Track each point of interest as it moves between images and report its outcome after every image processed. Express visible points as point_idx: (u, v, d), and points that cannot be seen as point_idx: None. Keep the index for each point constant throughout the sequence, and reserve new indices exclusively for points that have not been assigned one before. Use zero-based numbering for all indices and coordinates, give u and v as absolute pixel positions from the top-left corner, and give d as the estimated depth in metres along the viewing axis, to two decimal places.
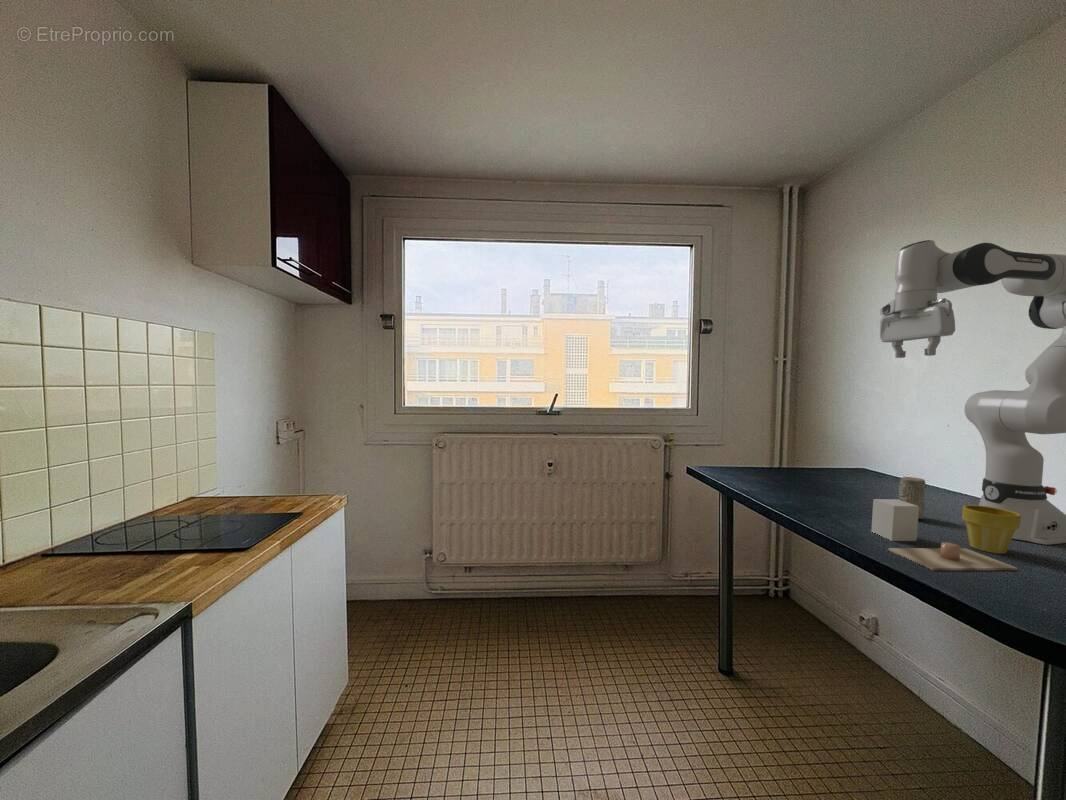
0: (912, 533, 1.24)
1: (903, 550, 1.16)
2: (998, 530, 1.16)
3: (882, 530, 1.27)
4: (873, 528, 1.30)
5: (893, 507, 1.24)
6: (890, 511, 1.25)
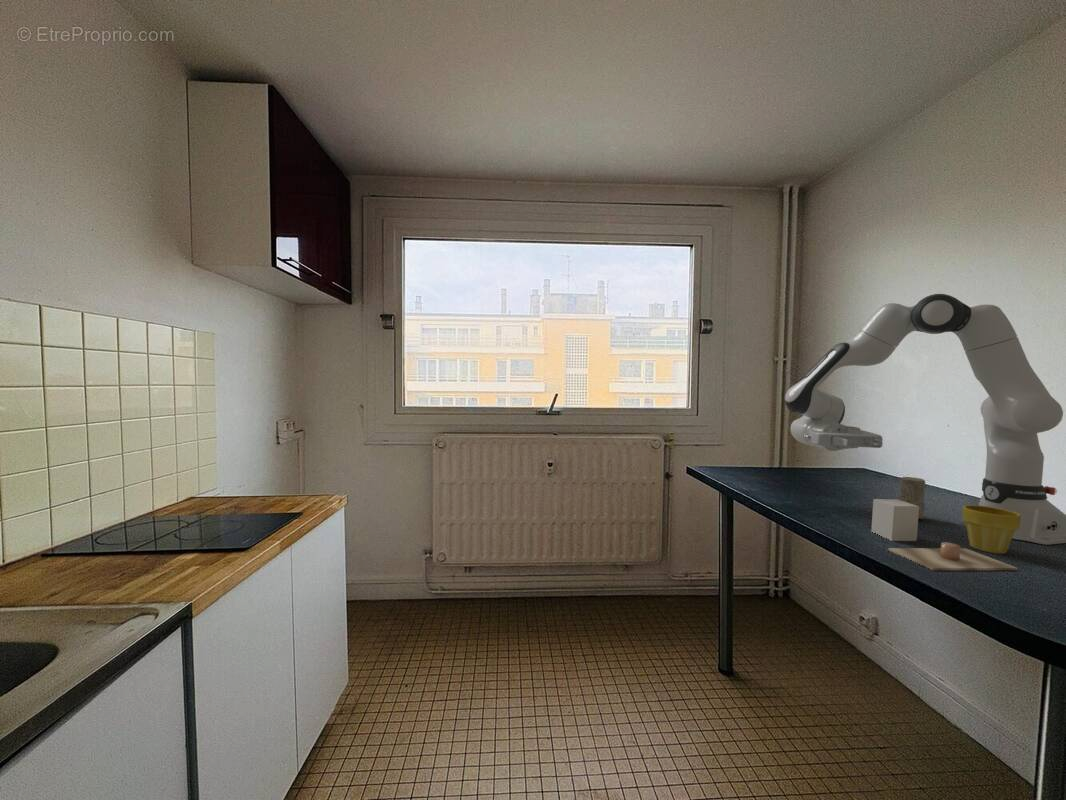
0: (912, 533, 1.24)
1: (903, 550, 1.16)
2: (998, 530, 1.16)
3: (882, 530, 1.27)
4: (873, 528, 1.30)
5: (893, 507, 1.24)
6: (890, 511, 1.25)
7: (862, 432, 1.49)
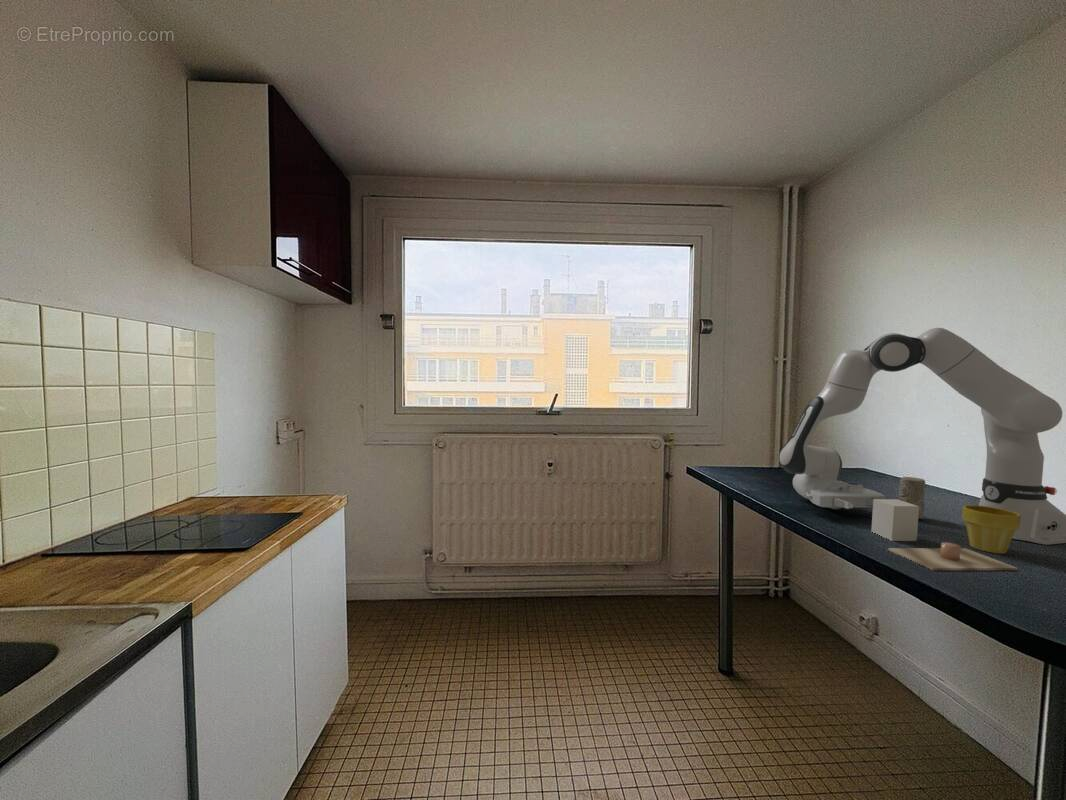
0: (912, 533, 1.24)
1: (903, 550, 1.16)
2: (998, 530, 1.16)
3: (882, 530, 1.27)
4: (873, 528, 1.30)
5: (893, 507, 1.24)
6: (890, 511, 1.25)
7: (864, 490, 1.48)
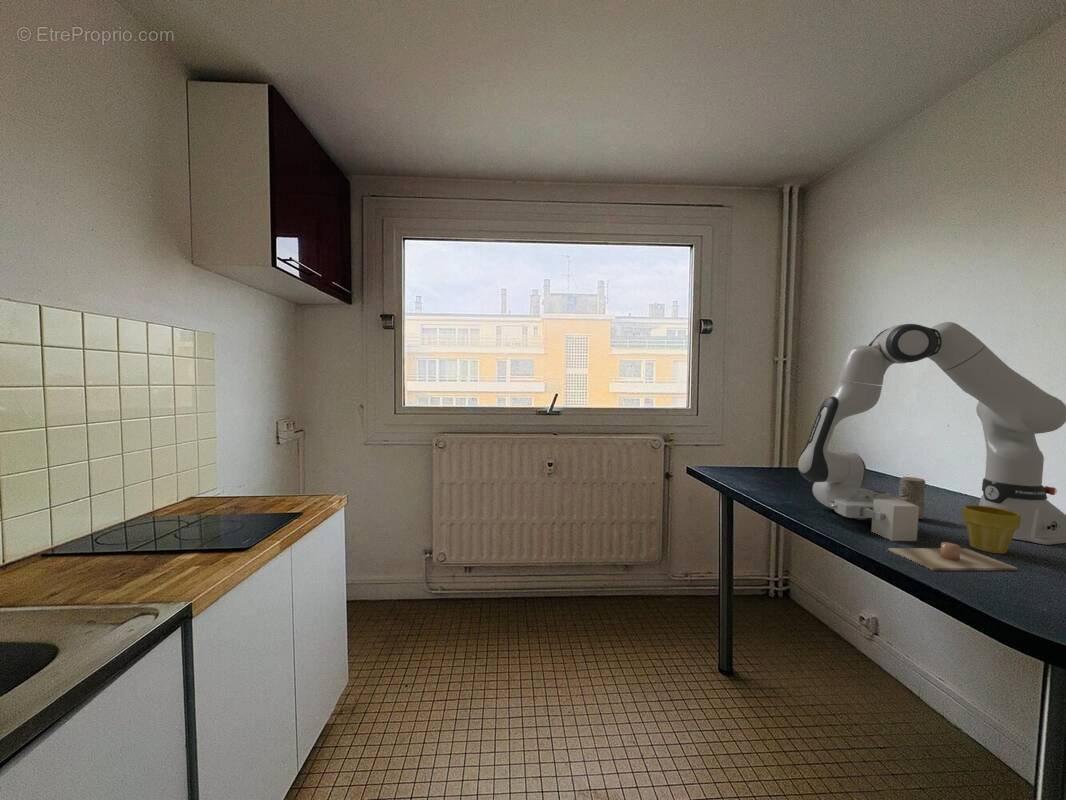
0: (912, 533, 1.24)
1: (903, 550, 1.16)
2: (998, 530, 1.16)
3: (882, 530, 1.27)
4: (873, 528, 1.30)
5: (893, 507, 1.24)
6: (890, 511, 1.25)
7: None
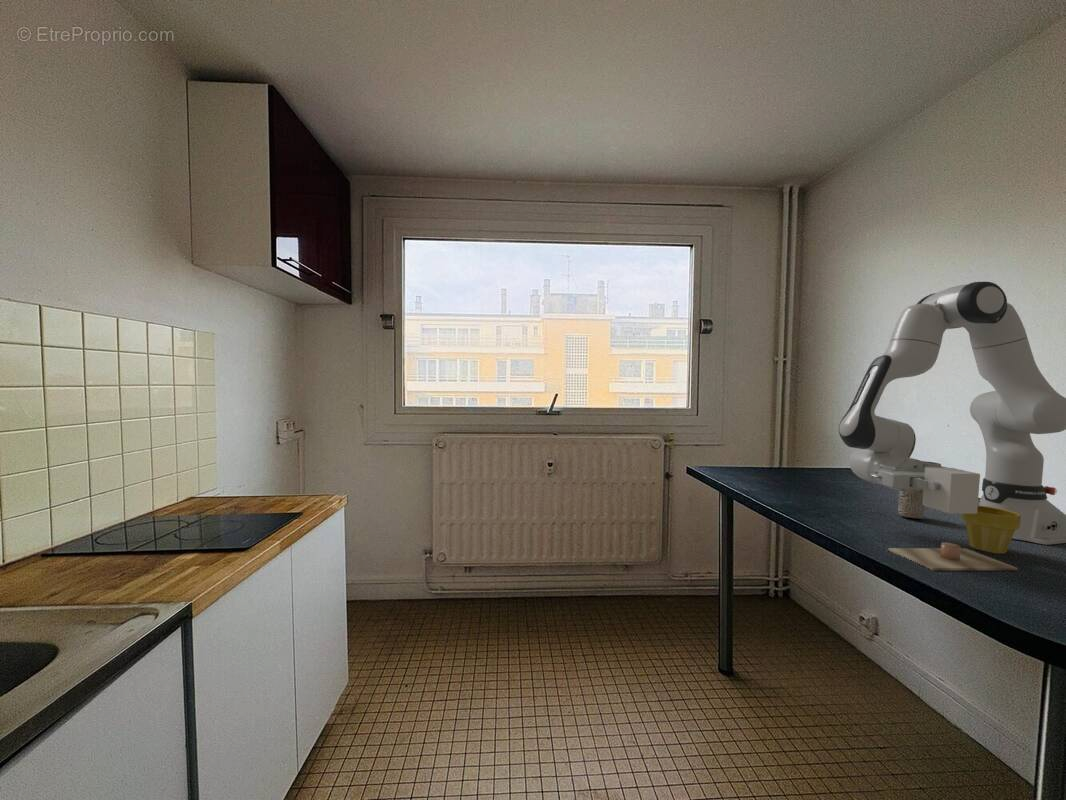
0: (972, 505, 1.09)
1: (903, 550, 1.16)
2: (998, 530, 1.16)
3: (937, 501, 1.11)
4: (924, 501, 1.15)
5: (950, 475, 1.08)
6: (946, 479, 1.09)
7: None
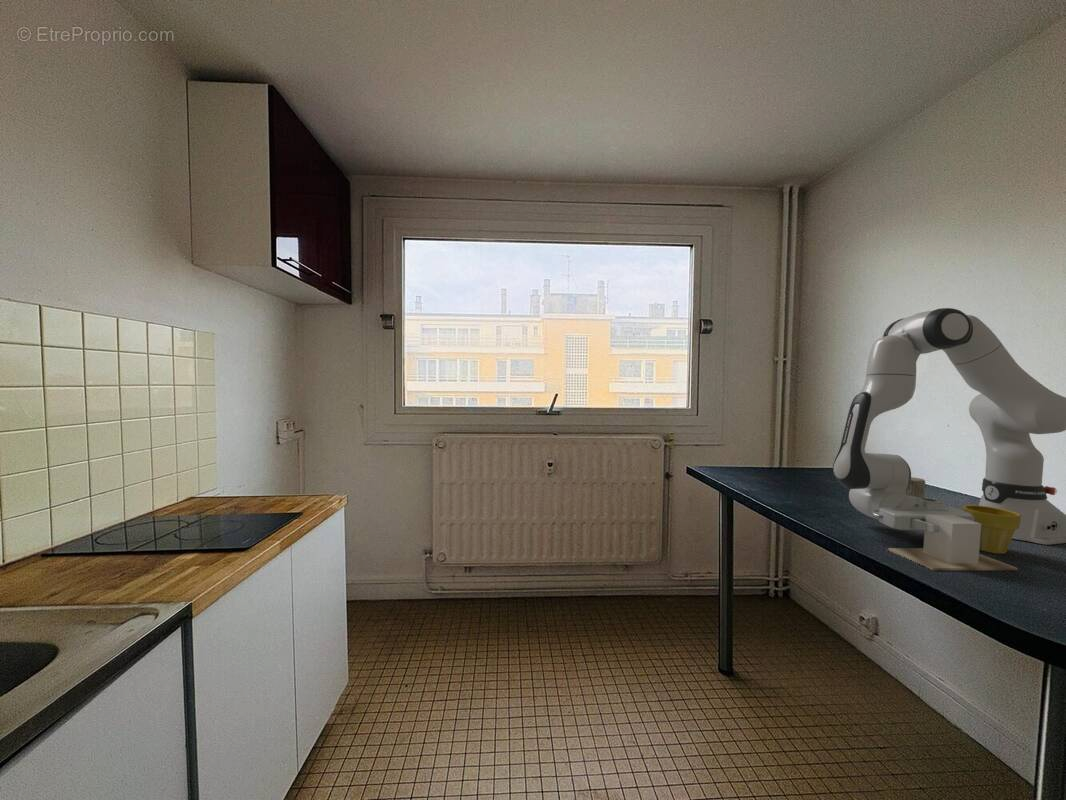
0: (973, 554, 1.09)
1: (903, 550, 1.16)
2: (998, 530, 1.16)
3: (938, 550, 1.11)
4: (925, 548, 1.14)
5: (952, 525, 1.08)
6: (947, 529, 1.09)
7: (945, 508, 1.21)
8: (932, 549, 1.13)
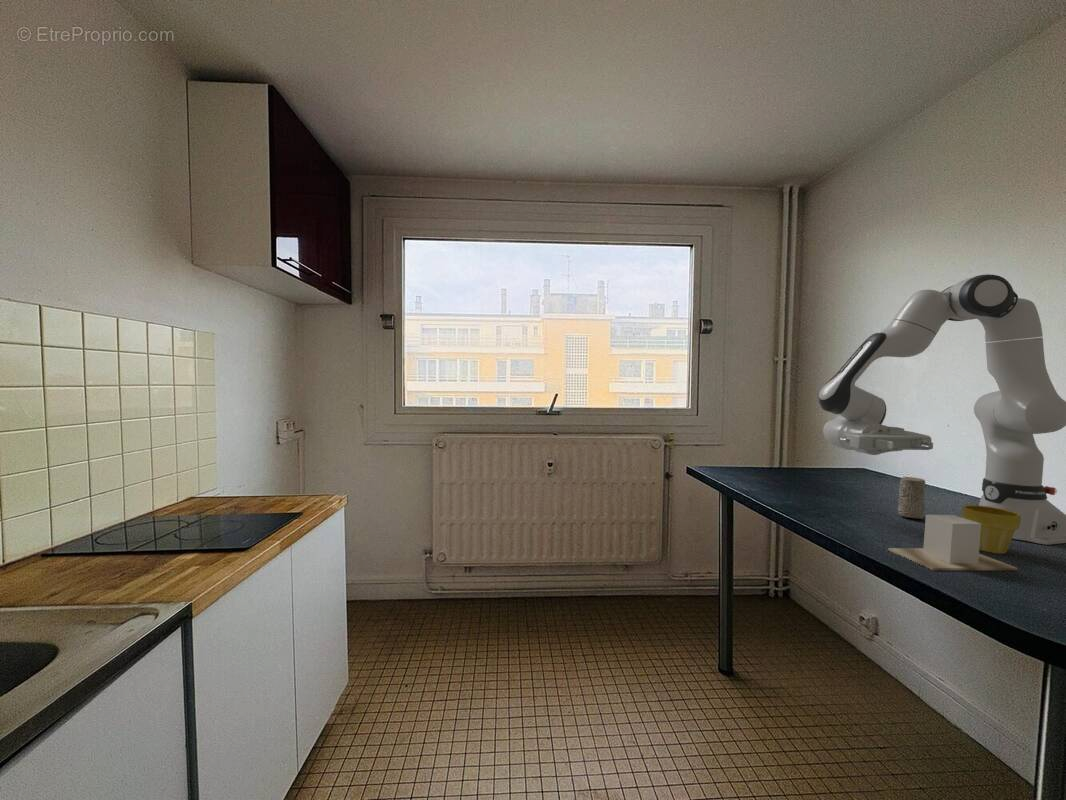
0: (973, 554, 1.09)
1: (903, 550, 1.16)
2: (998, 530, 1.16)
3: (938, 550, 1.11)
4: (925, 548, 1.14)
5: (952, 525, 1.08)
6: (947, 529, 1.09)
7: (907, 433, 1.33)
8: (932, 549, 1.13)
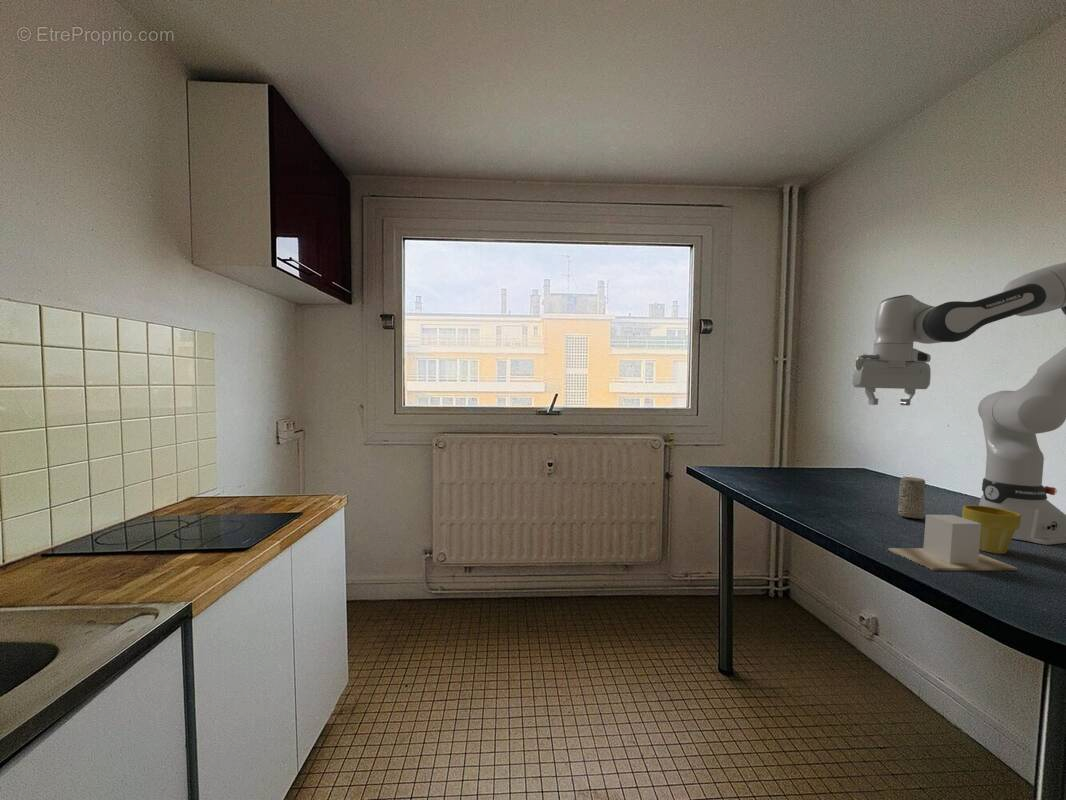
0: (973, 554, 1.09)
1: (903, 550, 1.16)
2: (998, 530, 1.16)
3: (938, 550, 1.11)
4: (925, 548, 1.14)
5: (952, 525, 1.08)
6: (947, 529, 1.09)
7: (923, 369, 1.33)
8: (932, 549, 1.13)
